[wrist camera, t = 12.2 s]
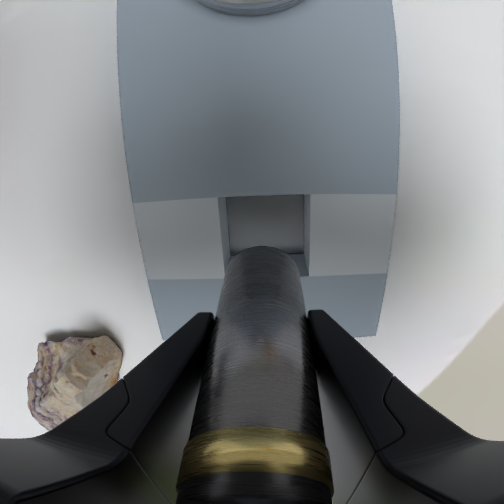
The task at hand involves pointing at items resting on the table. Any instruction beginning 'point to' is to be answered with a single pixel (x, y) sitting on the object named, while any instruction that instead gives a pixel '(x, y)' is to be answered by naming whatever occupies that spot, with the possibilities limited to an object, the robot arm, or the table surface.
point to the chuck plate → (262, 144)
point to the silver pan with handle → (248, 6)
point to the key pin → (258, 395)
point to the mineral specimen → (71, 377)
